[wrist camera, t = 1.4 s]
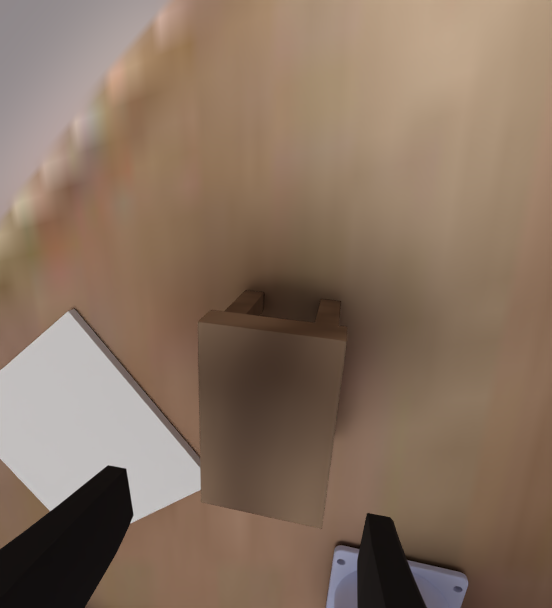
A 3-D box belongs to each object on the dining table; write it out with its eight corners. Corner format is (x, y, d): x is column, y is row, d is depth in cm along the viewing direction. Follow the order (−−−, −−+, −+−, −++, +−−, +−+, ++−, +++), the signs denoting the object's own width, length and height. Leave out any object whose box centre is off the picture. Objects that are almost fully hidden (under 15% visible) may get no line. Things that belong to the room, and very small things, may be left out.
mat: (216, 477, 23) (213, 483, 23) (87, 540, 28) (83, 545, 27) (74, 308, 21) (68, 311, 21) (-39, 406, 26) (-46, 410, 25)
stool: (347, 296, 18) (346, 341, 12) (328, 442, 20) (322, 528, 15) (240, 284, 19) (197, 321, 13) (236, 425, 21) (201, 502, 16)
